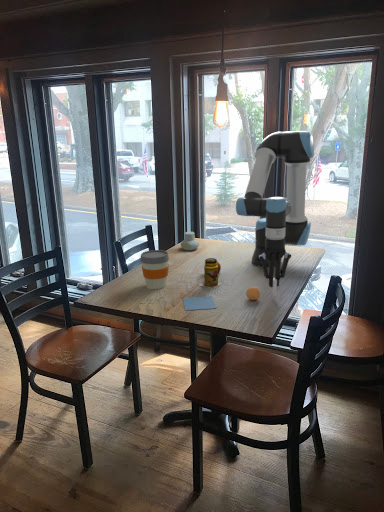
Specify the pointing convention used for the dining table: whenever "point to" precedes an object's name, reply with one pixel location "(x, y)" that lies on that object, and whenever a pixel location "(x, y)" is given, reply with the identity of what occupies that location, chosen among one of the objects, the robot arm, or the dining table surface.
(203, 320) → the dining table surface
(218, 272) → the fruit
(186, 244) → the air freshener
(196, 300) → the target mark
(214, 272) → the condiment
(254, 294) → the ball
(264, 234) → the robot arm
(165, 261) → the reusable coffee cup
